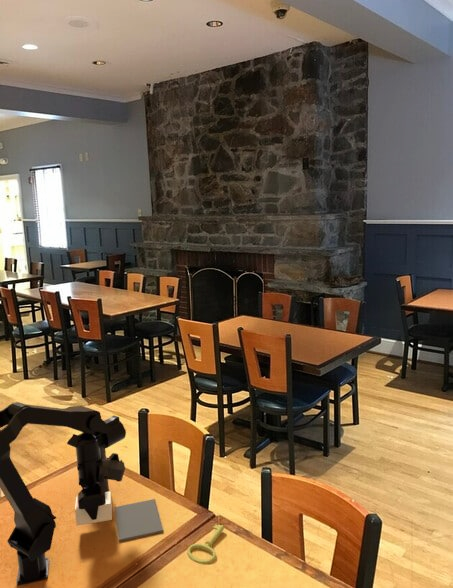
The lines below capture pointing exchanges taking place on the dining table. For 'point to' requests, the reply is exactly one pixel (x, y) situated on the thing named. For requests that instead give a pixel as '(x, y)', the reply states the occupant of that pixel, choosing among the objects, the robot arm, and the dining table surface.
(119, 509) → the mat
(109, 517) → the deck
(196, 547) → the key
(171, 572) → the dining table surface
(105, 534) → the dining table surface
